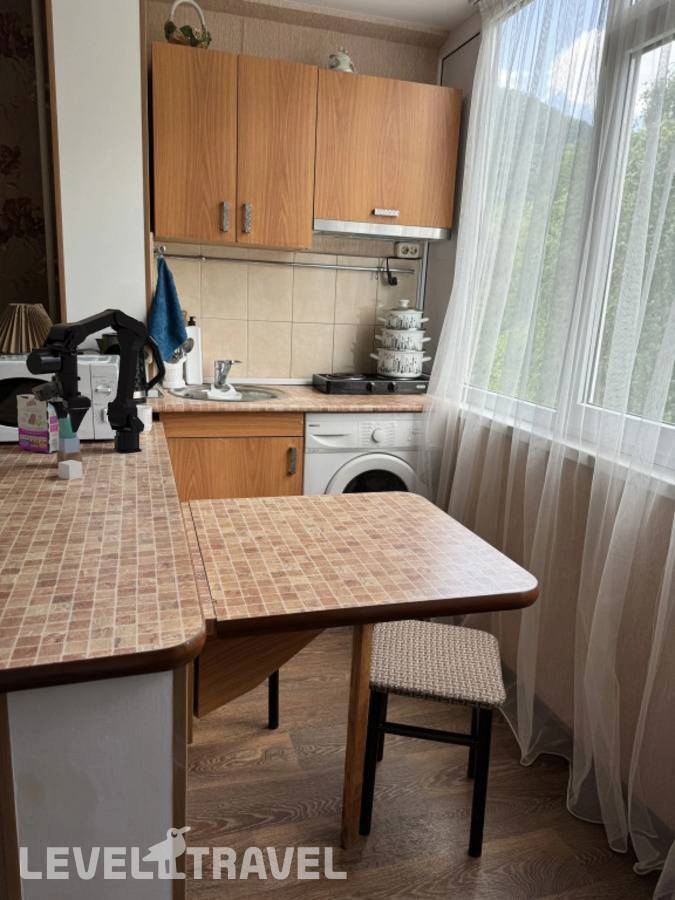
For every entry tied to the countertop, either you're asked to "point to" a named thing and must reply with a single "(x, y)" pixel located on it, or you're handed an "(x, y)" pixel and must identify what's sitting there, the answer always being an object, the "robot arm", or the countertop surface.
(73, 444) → the tower top
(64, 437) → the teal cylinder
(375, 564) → the countertop surface
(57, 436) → the candy bar box
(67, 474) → the cube
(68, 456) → the tower base
